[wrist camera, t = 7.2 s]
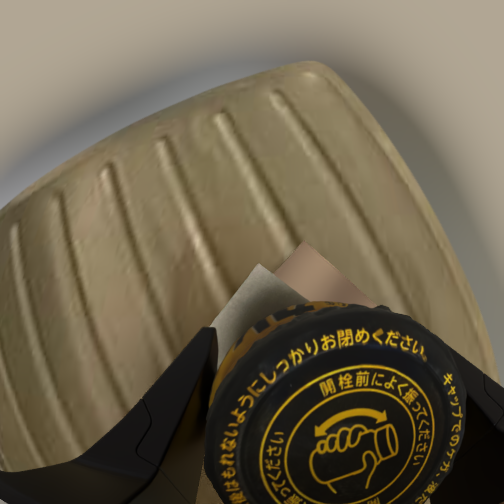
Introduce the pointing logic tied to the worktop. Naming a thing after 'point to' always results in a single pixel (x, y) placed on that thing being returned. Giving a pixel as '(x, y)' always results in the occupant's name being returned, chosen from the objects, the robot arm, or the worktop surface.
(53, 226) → the worktop surface
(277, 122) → the worktop surface
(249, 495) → the condiment
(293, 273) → the pinkish brown square block
